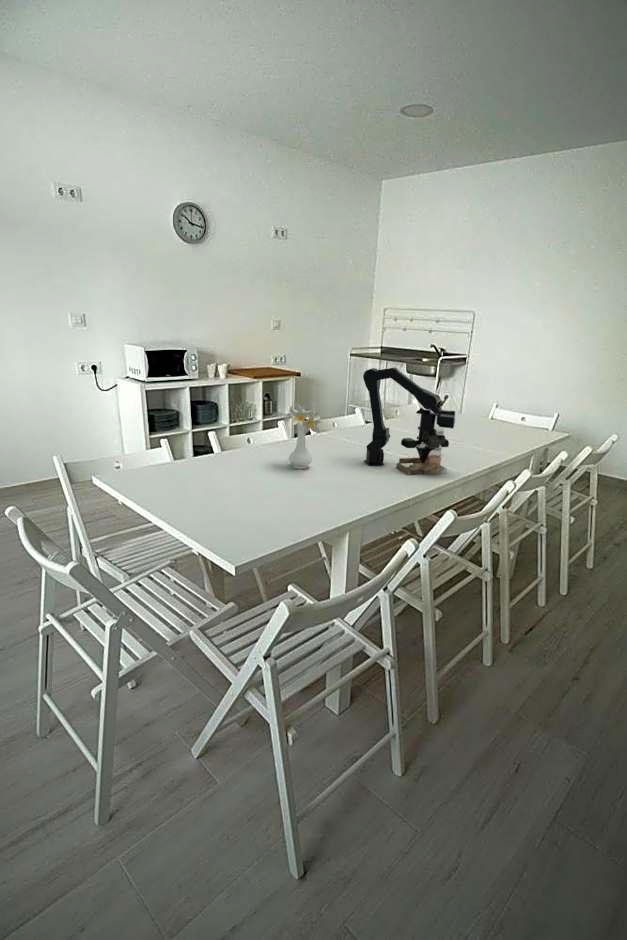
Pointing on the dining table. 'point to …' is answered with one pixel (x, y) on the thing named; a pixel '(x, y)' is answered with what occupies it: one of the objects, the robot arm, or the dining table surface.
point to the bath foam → (438, 432)
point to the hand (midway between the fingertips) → (422, 463)
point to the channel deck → (419, 467)
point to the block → (433, 459)
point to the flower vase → (302, 433)
